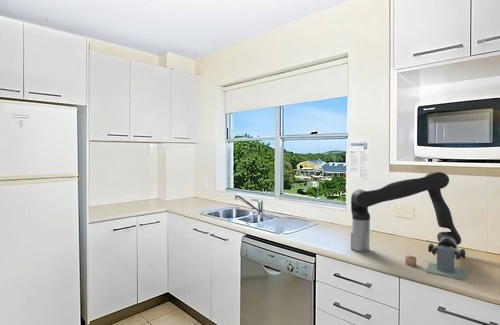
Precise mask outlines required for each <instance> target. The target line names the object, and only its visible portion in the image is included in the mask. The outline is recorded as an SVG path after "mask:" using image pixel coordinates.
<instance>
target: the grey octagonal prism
mask: <svg viewBox="0 0 500 325" xmlns="http://www.w3.org/2000/svg"><path fill="white" fill-rule="evenodd" d="M437 246H438V245H437ZM455 258H456V257H455V249H454V248H451V247H446V246H438V247H437V253H436V264H437V270H439V271H441V272H446V273H454V267H455Z"/></svg>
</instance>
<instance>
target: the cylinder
mask: <svg viewBox="0 0 500 325" xmlns="http://www.w3.org/2000/svg"><path fill="white" fill-rule="evenodd" d="M404 257H405V259H404V260H405V265H406V266H410V267H416V266H417V257H416V256H414V255H405V256H404Z"/></svg>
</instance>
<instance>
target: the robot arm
mask: <svg viewBox="0 0 500 325" xmlns="http://www.w3.org/2000/svg"><path fill="white" fill-rule="evenodd" d="M449 183H450V178H449V176H448V174H446V173H444V172H441V171H436V172H431V173H428V174H426V175H425V176H423V177H417V178H411V179H403V180H399V181H394V182H391V183H388V184H386V185H385V186H383V187H381V188H378V189H373V190H363V189H356V190H354V191H353V192H352V193H351V197H350V204H351V205H350V209H351V210H350V211H351V214H352V215H351V216H352V219H351V221H352V222H351V223H352V224H351V228H352V229H351V232H350V250H353V251H356V252H360V253H361V252H362V253H365V252H369V251H370V239H371V238H370V234H371V233H370V231H371V230H370V229H371V214H370V212H369V207H371V206H375V205H378V204H380V203H384V202H390V201H393V200H394V201H395V200H400V199H402V198H403V199H404V198H406V197H411V196H414V195H417V194H420V193H422V192H426V191H427V193H428V194H429V198H430V200H431V203H432V205H433V209H434V212H435V216H436V222H437V226H438V227H439V228H442V229H443V228H444V229H448V230H450V231H440V232H438V233H437V235H436V236H437V237H436V238H437V241H438V245H436V246H435V245H434V244H432V243H429V245H428V246H427V247H428V248H427V249H428V250H427V251H428V253H431V254H433V256H437V247H438V246H446V247H451V248H454V249H455V258H456V260H459V259H461V258H462V259H466V250H465V248H462V249H460V250H459V249H458V245H459V246H460V244H461V242H462V237H461V235H460V234H459V231H458V230H457V229H456V226H455V225H454V221H453V216H452V213H451V210H450V207H449V206H448V204H447V203H446V201H445V200H444V197H443V194H442V189H444V188H446V187H447V186H448V185H449Z"/></svg>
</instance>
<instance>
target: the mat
mask: <svg viewBox="0 0 500 325" xmlns="http://www.w3.org/2000/svg"><path fill="white" fill-rule="evenodd" d="M427 264H428V265H427V266H426V270H425V273H427V274H433V275H439V276H443V277H447V278H451V279H455V280H456V279H457V280H460V281H465V274H466V273H465V269H464V268H460V267H459V268H458V267H455V266H454V273H446V272H441V271H439V270H437V263H435V262H428V263H427Z"/></svg>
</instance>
